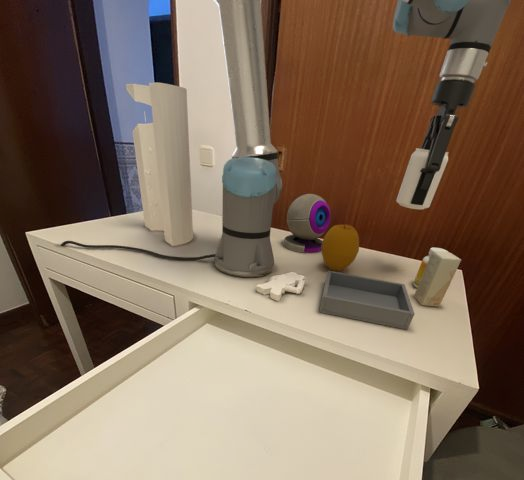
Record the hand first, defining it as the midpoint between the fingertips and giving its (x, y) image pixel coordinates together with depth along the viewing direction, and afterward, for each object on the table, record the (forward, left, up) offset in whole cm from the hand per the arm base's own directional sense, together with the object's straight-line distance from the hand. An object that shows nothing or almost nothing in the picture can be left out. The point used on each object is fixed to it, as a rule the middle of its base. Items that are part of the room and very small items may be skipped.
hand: (413, 201), depth 76 cm
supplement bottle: (+8, -9, -18) cm, 22 cm away
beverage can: (0, 0, -1) cm, 1 cm away
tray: (-8, -27, -18) cm, 33 cm away
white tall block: (-66, -2, -18) cm, 69 cm away
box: (+7, -18, -18) cm, 27 cm away
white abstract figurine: (-26, -26, -18) cm, 41 cm away
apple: (-15, -7, -18) cm, 25 cm away
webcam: (-26, +8, -18) cm, 33 cm away
